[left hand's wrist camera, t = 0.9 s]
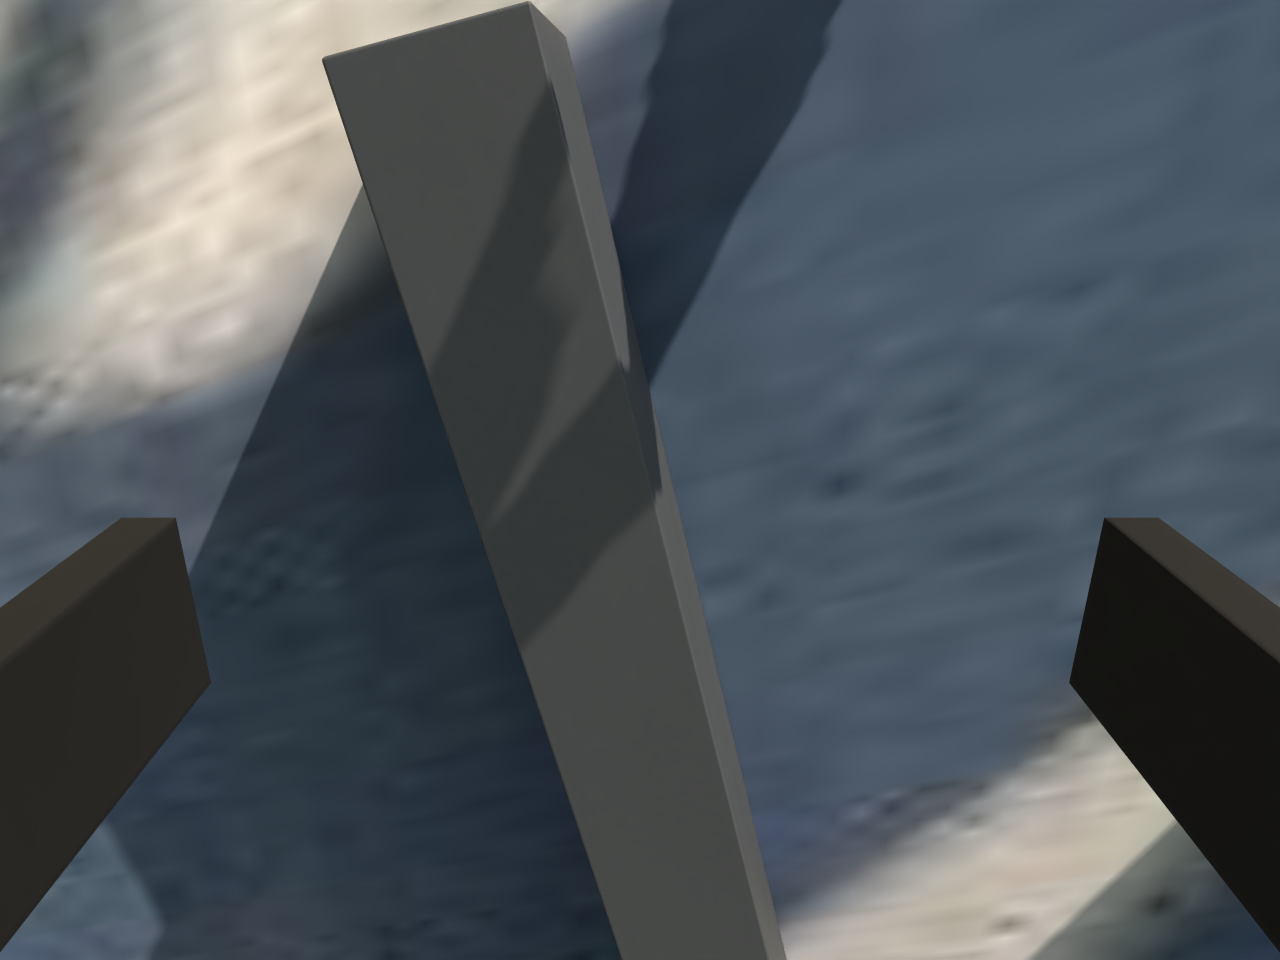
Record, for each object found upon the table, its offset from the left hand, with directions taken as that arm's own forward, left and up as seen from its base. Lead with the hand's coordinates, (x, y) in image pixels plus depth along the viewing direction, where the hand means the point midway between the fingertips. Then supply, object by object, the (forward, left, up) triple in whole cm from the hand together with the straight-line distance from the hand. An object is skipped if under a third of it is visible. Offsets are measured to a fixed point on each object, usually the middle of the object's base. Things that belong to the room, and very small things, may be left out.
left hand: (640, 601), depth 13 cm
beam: (+5, +18, -18) cm, 27 cm away
